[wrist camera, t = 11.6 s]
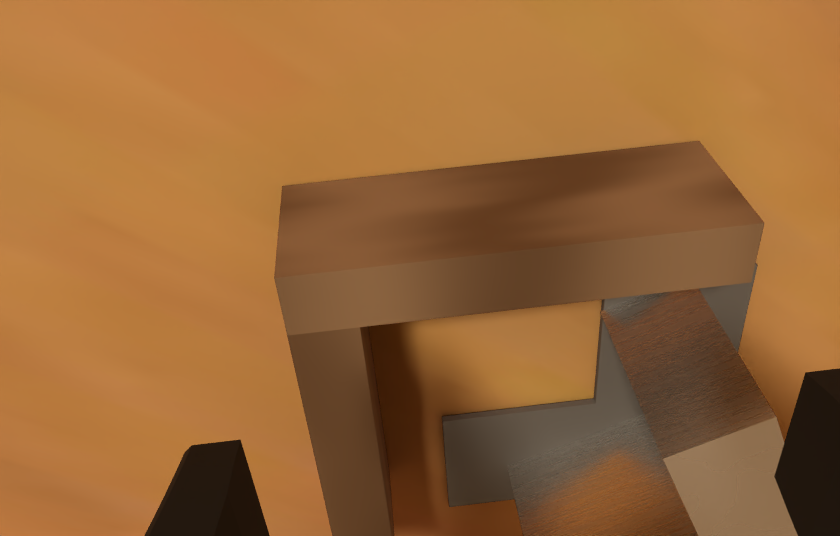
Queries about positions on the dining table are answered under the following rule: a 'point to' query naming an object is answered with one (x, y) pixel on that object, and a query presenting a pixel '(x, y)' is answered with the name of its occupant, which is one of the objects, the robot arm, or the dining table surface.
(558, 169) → the corner jig
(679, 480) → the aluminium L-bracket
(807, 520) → the robot arm
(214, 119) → the dining table surface
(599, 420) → the L-shaped mat
